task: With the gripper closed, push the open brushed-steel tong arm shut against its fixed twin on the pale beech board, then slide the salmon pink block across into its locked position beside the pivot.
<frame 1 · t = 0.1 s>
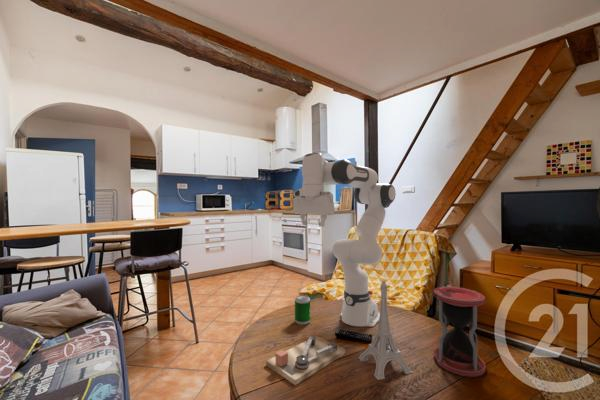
hand: (312, 225, 114), 48 cm above the table, fingers open, 8 cm apart
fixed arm: (302, 370, 95), resting on board
tong arm: (306, 350, 102), point 3 cm above the table, hinge at 32.0°
soda can: (302, 322, 133), on the table
hourglass: (458, 363, 99), on the table
eiffel tower: (384, 365, 98), on the table
salmon pink block: (281, 358, 96), point 4 cm above the table, slide at 0.0 cm
board: (307, 359, 102), on the table
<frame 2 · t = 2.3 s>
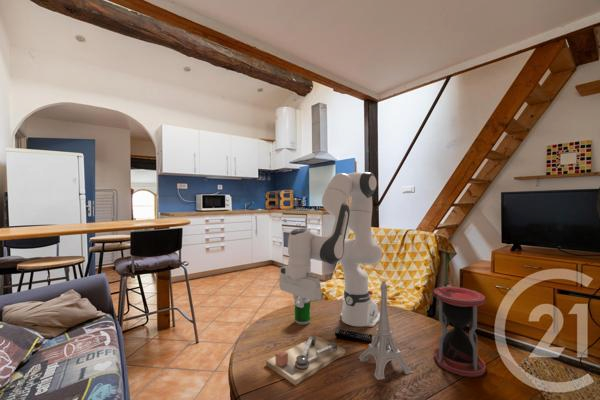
hand: (299, 306, 108), 17 cm above the table, fingers closed
nothing on the table moved.
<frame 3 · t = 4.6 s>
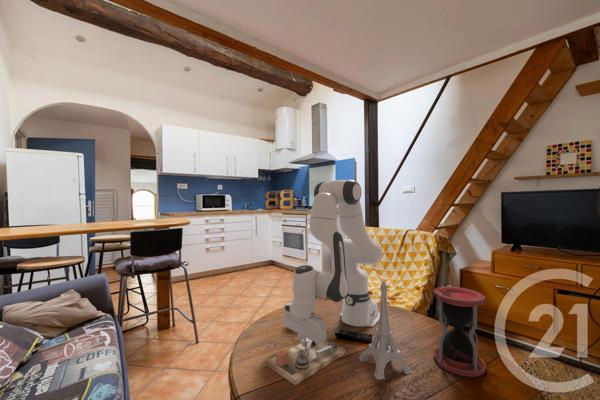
hand: (304, 345, 106), 3 cm above the table, fingers closed, pressing on tong arm
tong arm: (306, 350, 102), point 3 cm above the table, hinge at 31.1°, touching gripper
everything else where it was.
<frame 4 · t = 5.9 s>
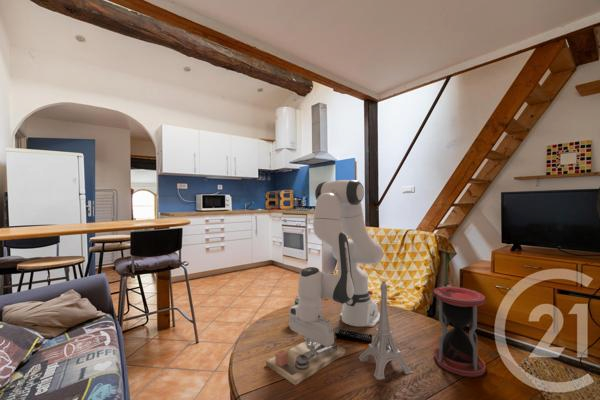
hand: (310, 348, 104), 3 cm above the table, fingers closed
tong arm: (312, 352, 101), point 3 cm above the table, hinge at 12.6°, touching gripper
everything else where it was.
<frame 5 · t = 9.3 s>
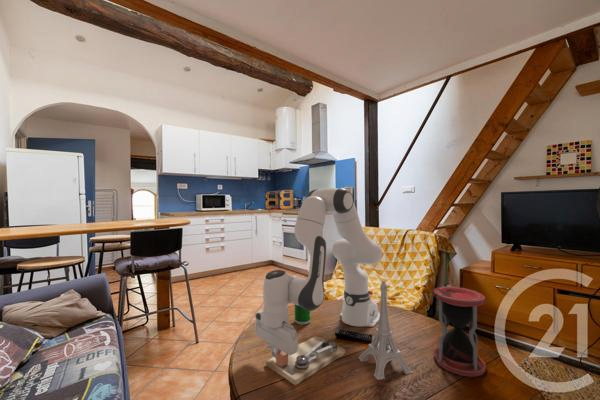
hand: (275, 356, 98), 3 cm above the table, fingers closed
tong arm: (312, 352, 101), point 3 cm above the table, hinge at 12.6°
salmon pink block: (282, 358, 96), point 4 cm above the table, slide at 0.2 cm, touching gripper
everything else where it was.
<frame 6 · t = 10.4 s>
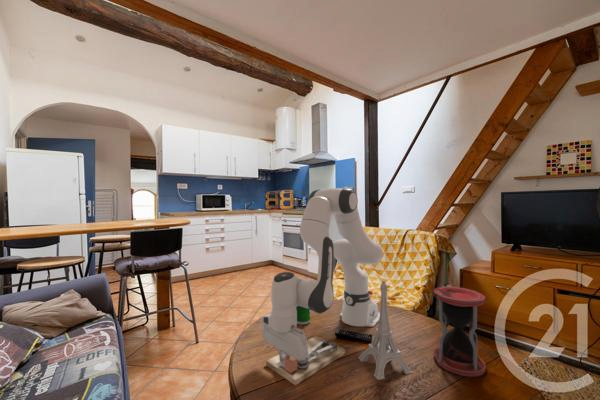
hand: (284, 362, 95), 3 cm above the table, fingers closed
salmon pink block: (290, 363, 93), point 4 cm above the table, slide at 4.8 cm, touching gripper
everything else where it was.
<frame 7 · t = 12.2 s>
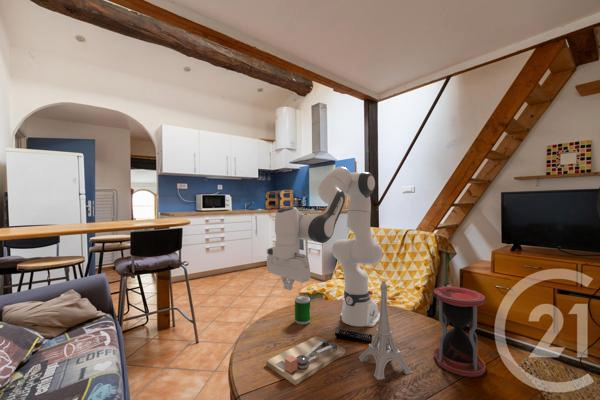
hand: (288, 289, 101), 26 cm above the table, fingers closed
salmon pink block: (291, 363, 93), point 4 cm above the table, slide at 4.8 cm
everything else where it was.
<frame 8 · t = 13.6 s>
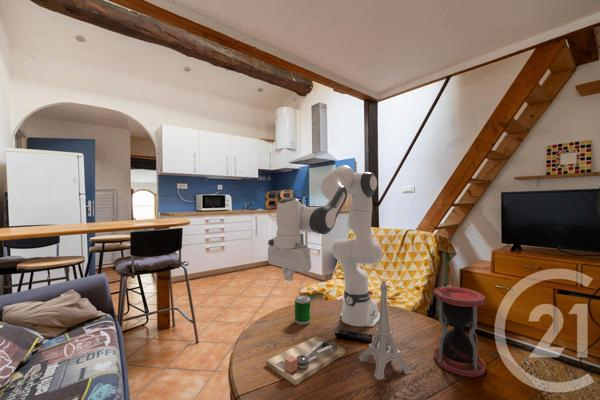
hand: (288, 280, 102), 29 cm above the table, fingers closed
nothing on the table moved.
at the end: tong arm at +13° (first picture: +32°); salmon pink block slide at 4.8 cm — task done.
